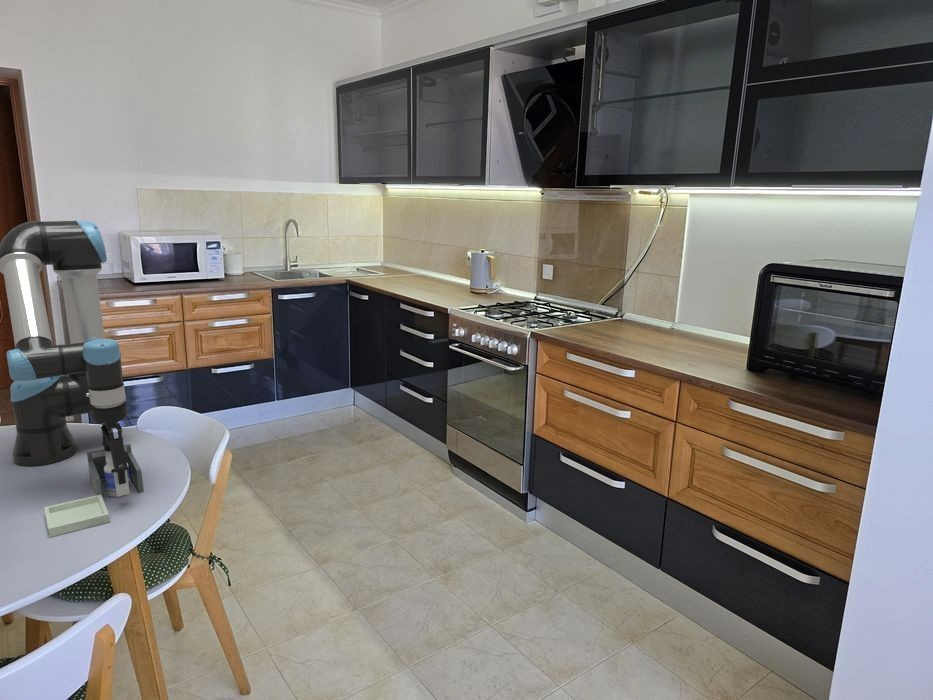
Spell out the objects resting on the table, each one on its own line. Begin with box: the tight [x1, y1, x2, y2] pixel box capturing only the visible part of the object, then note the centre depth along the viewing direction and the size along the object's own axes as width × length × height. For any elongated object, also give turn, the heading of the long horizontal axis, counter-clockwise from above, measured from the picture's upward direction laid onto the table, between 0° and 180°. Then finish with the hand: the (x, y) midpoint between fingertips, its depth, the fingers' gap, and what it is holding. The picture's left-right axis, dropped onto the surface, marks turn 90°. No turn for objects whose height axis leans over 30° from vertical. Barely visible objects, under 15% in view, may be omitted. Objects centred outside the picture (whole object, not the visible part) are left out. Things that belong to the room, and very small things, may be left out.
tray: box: [43, 494, 111, 538], centre depth 146 cm, size 12×12×2 cm
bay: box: [86, 443, 145, 499], centre depth 161 cm, size 14×10×8 cm
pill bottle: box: [104, 455, 132, 498], centre depth 158 cm, size 5×5×10 cm
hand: (118, 484), depth 158 cm, fingers open, 13 cm apart
